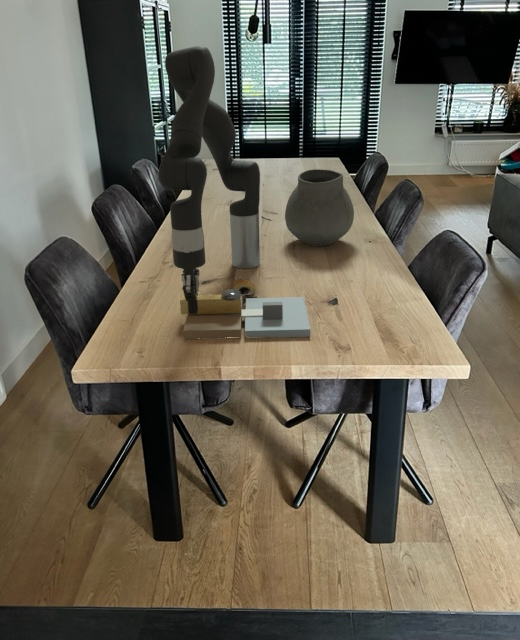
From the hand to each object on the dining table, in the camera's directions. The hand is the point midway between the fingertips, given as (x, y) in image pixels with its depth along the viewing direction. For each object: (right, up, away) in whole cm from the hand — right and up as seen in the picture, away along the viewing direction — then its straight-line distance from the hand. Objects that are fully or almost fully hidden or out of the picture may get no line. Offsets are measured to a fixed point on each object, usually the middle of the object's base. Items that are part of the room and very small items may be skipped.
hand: (193, 312), depth 141 cm
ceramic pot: (+38, +26, +66) cm, 80 cm away
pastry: (+11, +6, +26) cm, 29 cm away
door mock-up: (+12, -2, +8) cm, 15 cm away
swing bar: (+4, 0, +7) cm, 8 cm away
